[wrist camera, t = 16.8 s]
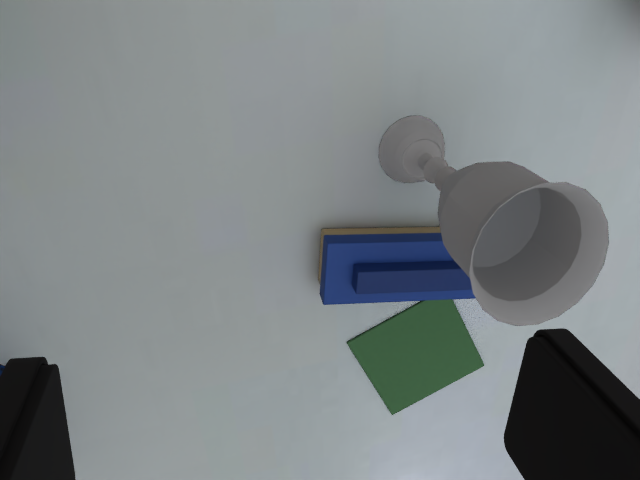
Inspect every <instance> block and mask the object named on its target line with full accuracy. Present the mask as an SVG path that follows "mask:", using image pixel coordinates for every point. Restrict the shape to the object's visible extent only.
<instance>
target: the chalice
mask: <svg viewBox="0 0 640 480" xmlns="http://www.w3.org/2000/svg"><path fill="white" fill-rule="evenodd" d="M444 146H445V143H444V138H443V134H442V132H441V130H440V129H439V127H438V125H437V124H435V123H434V122H433V121H432V120H430V119H428V118H425V117H422V116H408V117H405V118H403V119H400V120H398V121H397V122H395V123H394V124H393V125H391V126H390V127H389V129H388V130H387V131H386V133H385V134H384V135H383V138H382V140H381V143H380V146H379V159H380V163H381V167H382V168H383V170H384V171H385V173H386V174H387V175H388V176H390V177H391V178H392V179H394V180H396V181H399V182H402V183H414V182H422V181H424V180H427V181H428V182H430V183H435V185H436V187H437V189H439V190H440V191H441V192H440V198H439V206H438V218H439V225H440V230H441V235H442V240H443V244H444V246H445V248H446V249H447V251H448V253H449V254H450V256H451V257H452V258H453V260H454V261H455V262H456V263H457V264H458V265H459V266H460V268H461V269H462V270H463V271H464V272H465V273H466V274H467V276H468V277H469V278H470V280H471V285H472V290H473V294H474V296H475V297H476V299H477V301H478V302H479V304H480V306H481V307H482V309H483V310H484V311H485V312H487V313H488V314H489V315H491V316H492V317H493V318H495V319H496V320H497V321H500V322H504V323H507V324H511V325H515V326H523V325H536V324H540V323H543V322H545V321H548V320H550V319H553V318H556V317H558V316H560V315H561V314H563V313H564V312H565V311H567V310H568V309H570V308H571V307H572V306H574V305H575V304H577V303H578V302H579V301H580V300H581V298H582V297H583V296H584V295H585V294H586V293H587V292H588V290H589V289H590V288H591V287H592V286H593V284H594V282H595V281H596V279H597V277H598V275H599V273H600V271H601V269H602V267H603V265H604V262H605V258H606V254H607V249H608V245H609V234H608V221H607V219H606V216H605V214H604V212H603V209H602V207H601V204H600V203H599V202H598V201H597V200H596V199H595V198H594V197H593V196H592V195H591V194H590V193H589V192H588V191H587V190H586V189H583V188H580V187H577V186H575V185H572V184H569V183H567V182H558V183H550V182H548V181H546V180H545V179H543V178H541V177H540V176H538V175H536V174H535V173H533V172H531V171H530V170H528V169H526V168H525V167H523V166H520V165H517V164H514V163H512V162H483V163H475V164H473V165H470V166H467V167H465V168H462V169H460V170H457V171H456V170H455V169H454V168H452V167H448V164H447V162H446V160H444V156H445V147H444Z"/></svg>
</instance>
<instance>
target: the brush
mask: <svg viewBox="0 0 640 480" xmlns="http://www.w3.org/2000/svg"><path fill="white" fill-rule="evenodd" d="M318 280H319V283H320V296H321V299H322V302H323V304H324V305H330V304H354V303H377V302H401V301H424V300H448V299H471V298H476V297H475V296H474V294H473V290H472V285H471V280H470V278H469V277H468V276H467V274H466V273H465V272H464V271H463V270H462V269H461V268H460V266H459V265H458V264H457V263H456V262H455V261H454V260H453V258H452V257H451V256H450V254H449V253H448V251H447V249H446V248H445V246H444V244H443V240H442V235H441V230H440V227H400V228H342V229H322V230H321V245H320V260H319V275H318Z"/></svg>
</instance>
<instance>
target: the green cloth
mask: <svg viewBox="0 0 640 480" xmlns="http://www.w3.org/2000/svg"><path fill="white" fill-rule="evenodd" d="M347 344H348V346H349V347H350V349H351V350H352V352H353V354H354V355H355V357H356V358H357V360H358V362H359V363H360V365H361V366H362V368H363V369H364V371H365V373H366V374H367V376H368V377H369V379H370V381H371V382H372V384H373V385H374V387H375V389H376V390H377V392H378V393H379V395H380V397H381V398H382V400H383V401H384V403H385V404H386V406H387V408H388V409H389V411H390V412H391V414H392V415H393V414H395V413H397V412H399V411H401V410H403V409H404V408H406V407H408V406H410V405H412V404H414V403H416V402H418V401H419V400H421V399H423V398H425V397H427V396H429V395H431V394H432V393H434V392H436V391H438V390H440V389H442V388H444V387H445V386H447V385H449V384H451V383H453V382H455V381H457V380H458V379H460V378H462V377H464V376H466V375H468V374H470V373H472V372H473V371H475V370H477V369H479V368H481V367H483V366H484V364H483V361H482V359H481V357H480V355H479V353H478V351H477V349H476V347H475V345H474V343H473V341H472V339H471V337H470V335H469V333H468V331H467V329H466V326H465V324H464V322H463V320H462V318H461V316H460V314H459V312H458V310H457V308H456V306H455V304H454V302H453V300H452V299H448V300H424V301H421V302H419V303H417V304H415V305H413V306H412V307H410V308H408V309H406V310H404V311H403V312H401V313H399V314H397V315H395V316H393V317H392V318H390V319H388V320H386V321H384V322H382V323H381V324H379V325H377V326H375V327H373V328H371V329H370V330H368V331H366V332H364V333H362V334H360V335H359V336H357V337H355V338H353V339H351V340H349V341H348V342H347Z"/></svg>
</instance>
